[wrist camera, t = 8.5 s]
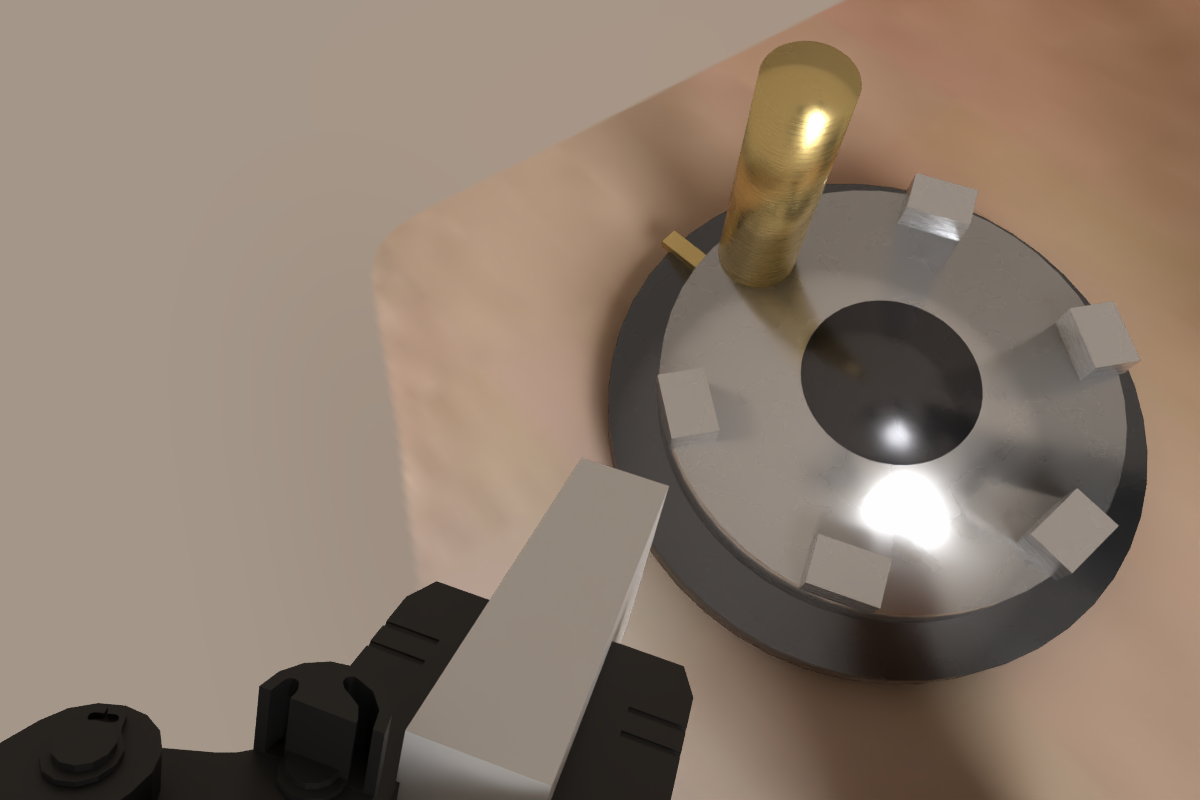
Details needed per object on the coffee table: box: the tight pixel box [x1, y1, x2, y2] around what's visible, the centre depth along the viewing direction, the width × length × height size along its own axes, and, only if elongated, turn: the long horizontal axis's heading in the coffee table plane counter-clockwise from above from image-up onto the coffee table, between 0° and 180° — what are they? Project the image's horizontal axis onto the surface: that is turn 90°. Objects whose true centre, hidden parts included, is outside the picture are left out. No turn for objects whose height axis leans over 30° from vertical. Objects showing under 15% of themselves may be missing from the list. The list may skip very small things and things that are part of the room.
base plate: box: [608, 184, 1147, 684], centre depth 37 cm, size 22×22×2 cm
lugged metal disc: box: [656, 41, 1141, 623], centre depth 31 cm, size 18×18×12 cm
